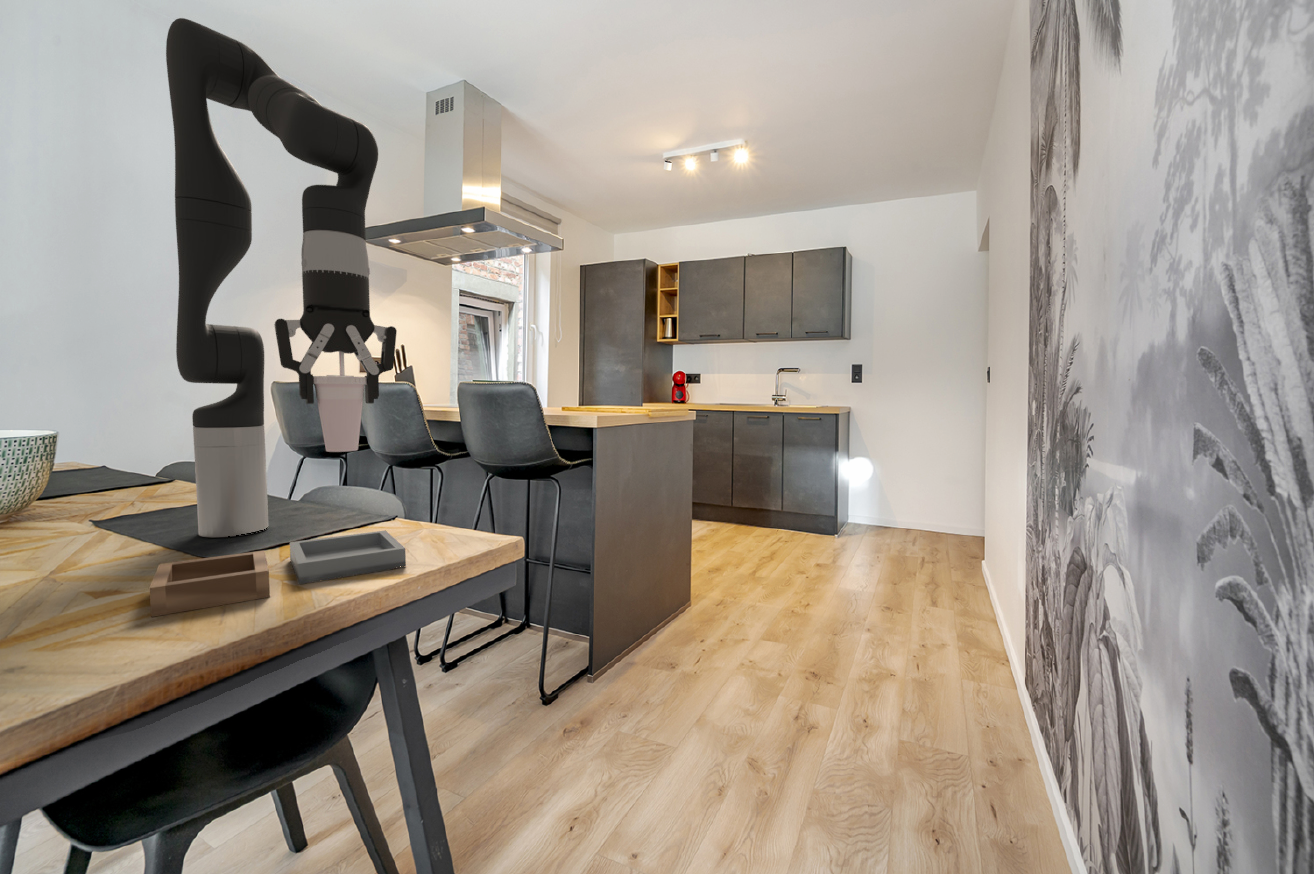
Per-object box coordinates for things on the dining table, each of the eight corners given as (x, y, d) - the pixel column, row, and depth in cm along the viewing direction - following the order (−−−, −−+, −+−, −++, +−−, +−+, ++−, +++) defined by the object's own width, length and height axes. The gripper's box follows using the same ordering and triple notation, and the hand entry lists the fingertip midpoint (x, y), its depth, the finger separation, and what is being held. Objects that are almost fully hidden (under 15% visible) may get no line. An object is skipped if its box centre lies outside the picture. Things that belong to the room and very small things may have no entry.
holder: (160, 589, 66) (159, 563, 66) (265, 573, 72) (264, 550, 72) (151, 616, 58) (149, 588, 58) (269, 596, 64) (268, 570, 64)
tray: (290, 560, 78) (289, 542, 78) (385, 546, 85) (385, 530, 85) (298, 584, 68) (298, 563, 68) (405, 566, 75) (405, 548, 75)
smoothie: (379, 448, 78) (376, 345, 77) (349, 453, 72) (345, 341, 71) (335, 447, 79) (331, 345, 78) (301, 452, 72) (297, 341, 71)
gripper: (390, 284, 81) (393, 402, 82) (267, 271, 72) (272, 403, 74) (402, 276, 75) (405, 404, 76) (270, 260, 66) (276, 404, 68)
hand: (340, 403), depth 75 cm, fingers closed on smoothie, 6 cm apart
